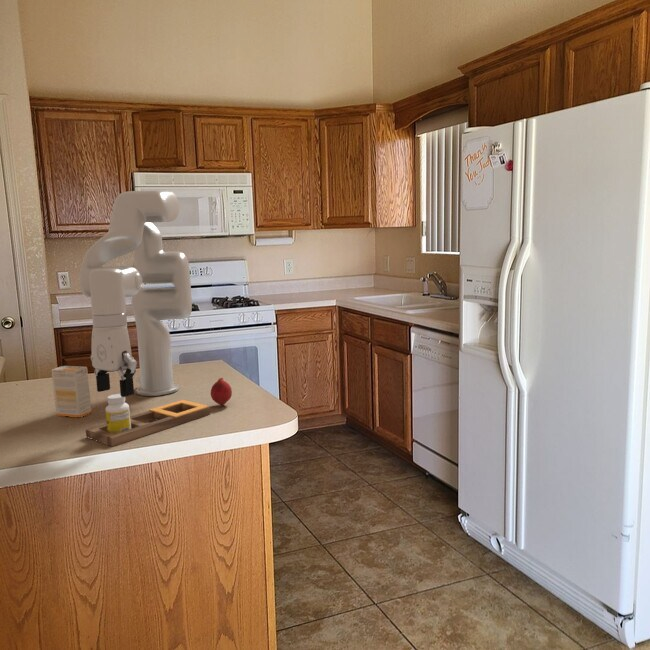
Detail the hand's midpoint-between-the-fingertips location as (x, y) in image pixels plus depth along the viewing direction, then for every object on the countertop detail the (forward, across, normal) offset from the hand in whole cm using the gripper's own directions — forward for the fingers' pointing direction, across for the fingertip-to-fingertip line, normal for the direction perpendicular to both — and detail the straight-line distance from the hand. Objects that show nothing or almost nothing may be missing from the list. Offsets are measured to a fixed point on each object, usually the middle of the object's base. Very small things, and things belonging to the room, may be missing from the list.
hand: (115, 393), depth 142 cm
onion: (+10, +1, +32) cm, 33 cm away
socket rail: (+10, -1, +10) cm, 14 cm away
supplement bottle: (+11, -1, +1) cm, 11 cm away
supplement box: (+10, -27, +4) cm, 29 cm away
